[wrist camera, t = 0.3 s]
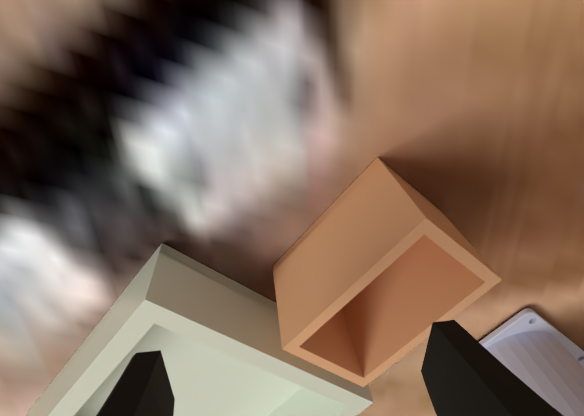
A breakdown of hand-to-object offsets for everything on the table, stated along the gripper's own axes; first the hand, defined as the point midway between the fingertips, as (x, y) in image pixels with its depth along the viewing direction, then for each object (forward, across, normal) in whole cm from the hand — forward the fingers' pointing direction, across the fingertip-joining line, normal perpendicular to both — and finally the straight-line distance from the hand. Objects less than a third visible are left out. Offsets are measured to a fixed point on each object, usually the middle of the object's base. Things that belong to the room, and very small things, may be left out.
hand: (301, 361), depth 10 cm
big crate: (+10, +6, +13) cm, 17 cm away
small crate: (+10, -4, +3) cm, 11 cm away
